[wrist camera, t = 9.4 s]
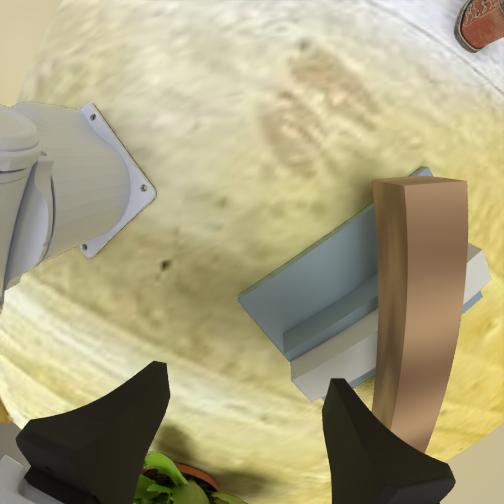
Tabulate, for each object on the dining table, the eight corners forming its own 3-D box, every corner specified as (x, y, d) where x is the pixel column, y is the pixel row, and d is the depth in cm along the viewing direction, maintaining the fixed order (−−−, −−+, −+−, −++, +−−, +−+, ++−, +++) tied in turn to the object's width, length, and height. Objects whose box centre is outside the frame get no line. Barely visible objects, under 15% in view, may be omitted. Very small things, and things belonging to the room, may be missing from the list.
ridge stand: (324, 395, 24) (332, 441, 19) (239, 294, 22) (228, 334, 16) (476, 292, 20) (512, 320, 15) (421, 166, 18) (464, 169, 13)
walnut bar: (405, 427, 18) (419, 464, 14) (368, 436, 18) (378, 476, 14) (423, 175, 13) (466, 181, 9) (371, 180, 14) (404, 186, 10)
